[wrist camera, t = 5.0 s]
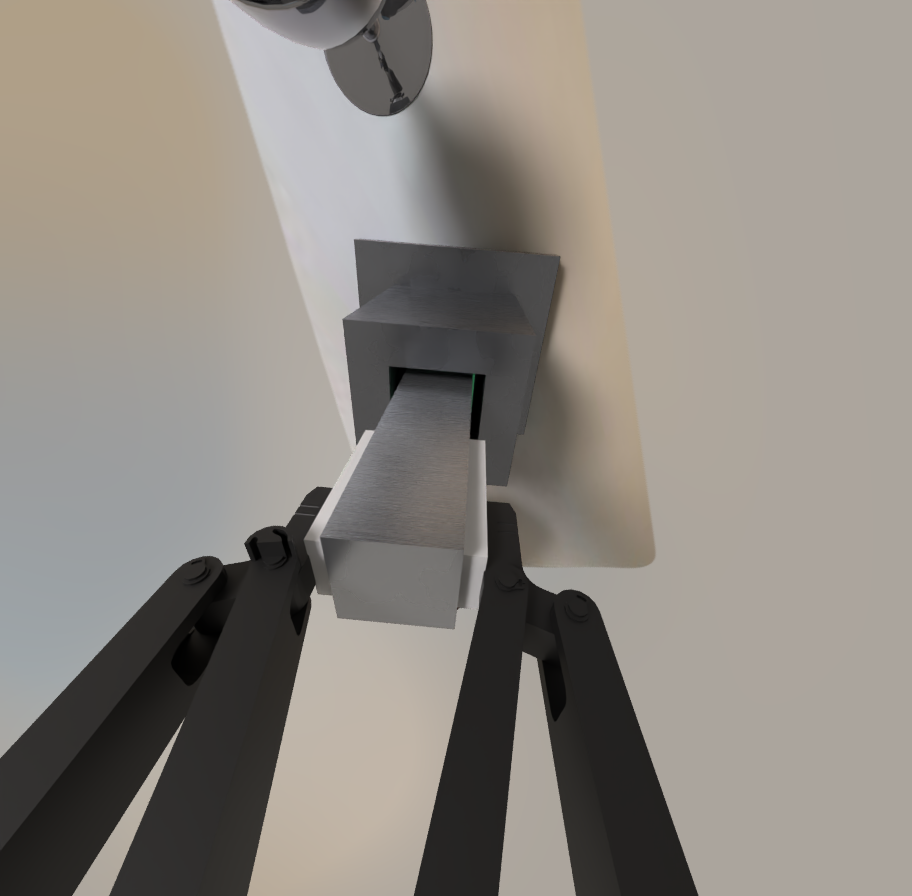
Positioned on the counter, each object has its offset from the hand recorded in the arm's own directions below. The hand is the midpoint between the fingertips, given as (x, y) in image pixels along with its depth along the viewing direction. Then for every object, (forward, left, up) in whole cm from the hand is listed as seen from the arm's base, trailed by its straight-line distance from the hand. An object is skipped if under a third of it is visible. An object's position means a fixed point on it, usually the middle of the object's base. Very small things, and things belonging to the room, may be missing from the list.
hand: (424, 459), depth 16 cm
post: (0, 0, -14) cm, 14 cm away
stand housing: (0, 0, -19) cm, 19 cm away
